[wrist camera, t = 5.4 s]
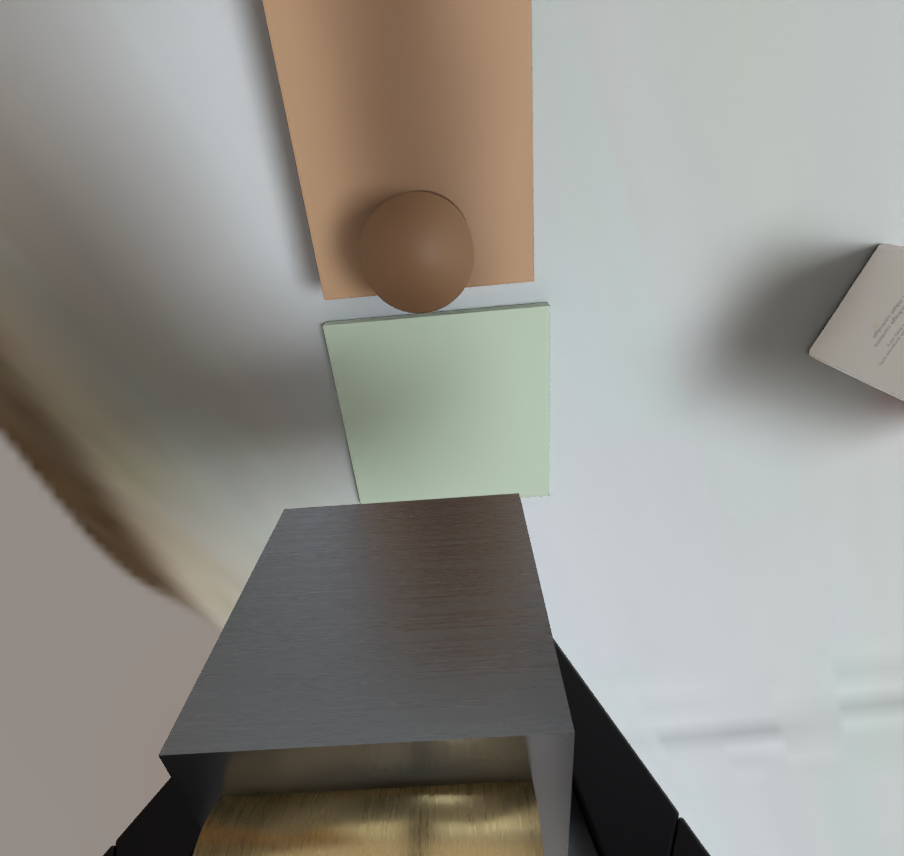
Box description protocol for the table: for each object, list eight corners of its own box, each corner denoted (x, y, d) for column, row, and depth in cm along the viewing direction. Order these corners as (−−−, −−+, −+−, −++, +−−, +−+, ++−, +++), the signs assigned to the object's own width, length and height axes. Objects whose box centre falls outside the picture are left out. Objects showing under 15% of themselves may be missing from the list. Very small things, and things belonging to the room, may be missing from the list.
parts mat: (547, 302, 19) (550, 305, 19) (546, 488, 23) (549, 495, 23) (326, 321, 20) (322, 325, 19) (363, 501, 24) (361, 508, 23)
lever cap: (519, 493, 8) (605, 865, 4) (523, 717, 11) (576, 1092, 6) (284, 509, 8) (88, 890, 4) (345, 726, 11) (274, 1102, 6)
